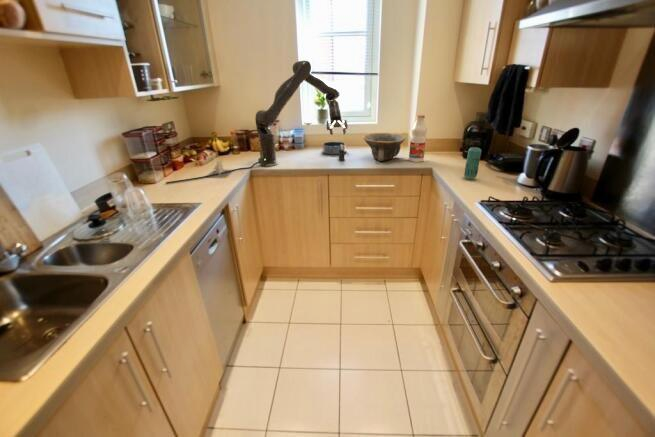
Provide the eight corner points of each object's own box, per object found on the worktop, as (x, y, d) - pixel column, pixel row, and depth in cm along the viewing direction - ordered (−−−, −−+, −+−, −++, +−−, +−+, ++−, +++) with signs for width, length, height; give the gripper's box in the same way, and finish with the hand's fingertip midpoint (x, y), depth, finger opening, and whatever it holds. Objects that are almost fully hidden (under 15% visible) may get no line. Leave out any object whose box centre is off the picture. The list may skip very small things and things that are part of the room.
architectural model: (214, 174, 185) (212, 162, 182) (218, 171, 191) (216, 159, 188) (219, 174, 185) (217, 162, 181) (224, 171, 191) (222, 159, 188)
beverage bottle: (460, 178, 170) (466, 140, 161) (470, 176, 172) (476, 139, 164) (469, 181, 164) (476, 143, 156) (479, 179, 166) (486, 141, 158)
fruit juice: (425, 159, 206) (430, 114, 194) (421, 162, 199) (426, 116, 187) (411, 157, 211) (415, 114, 199) (406, 161, 203) (410, 116, 191)
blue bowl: (330, 156, 220) (330, 147, 218) (318, 151, 233) (318, 143, 231) (350, 152, 228) (350, 144, 225) (337, 148, 241) (337, 140, 238)
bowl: (394, 166, 193) (396, 141, 187) (356, 161, 206) (356, 138, 199) (409, 156, 214) (411, 134, 207) (373, 152, 226) (374, 131, 220)
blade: (340, 161, 207) (340, 145, 203) (338, 159, 212) (338, 144, 207) (344, 160, 208) (344, 145, 203) (342, 159, 212) (342, 143, 208)
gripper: (325, 111, 214) (328, 131, 209) (345, 110, 216) (349, 130, 211) (324, 118, 221) (327, 137, 216) (344, 117, 223) (347, 136, 218)
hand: (338, 134), depth 213 cm, fingers open, 8 cm apart
